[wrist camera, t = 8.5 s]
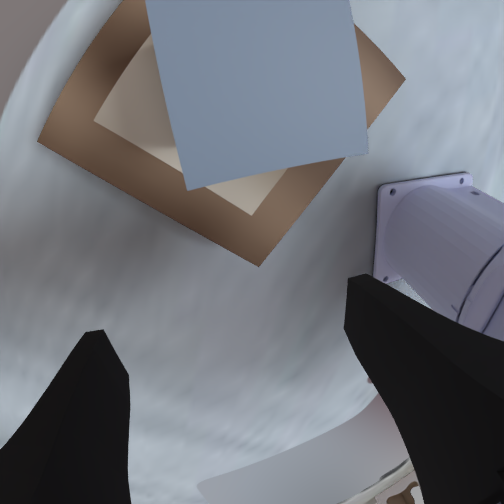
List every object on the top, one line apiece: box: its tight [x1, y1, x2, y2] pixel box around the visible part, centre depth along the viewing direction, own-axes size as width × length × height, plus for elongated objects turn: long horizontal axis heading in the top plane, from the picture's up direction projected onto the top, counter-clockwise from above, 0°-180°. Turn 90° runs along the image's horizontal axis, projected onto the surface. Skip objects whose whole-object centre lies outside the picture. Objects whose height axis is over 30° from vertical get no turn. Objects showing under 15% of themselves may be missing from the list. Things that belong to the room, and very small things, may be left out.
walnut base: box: [37, 0, 406, 267], centre depth 13 cm, size 12×12×4 cm
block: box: [145, 0, 368, 191], centre depth 9 cm, size 4×4×6 cm
